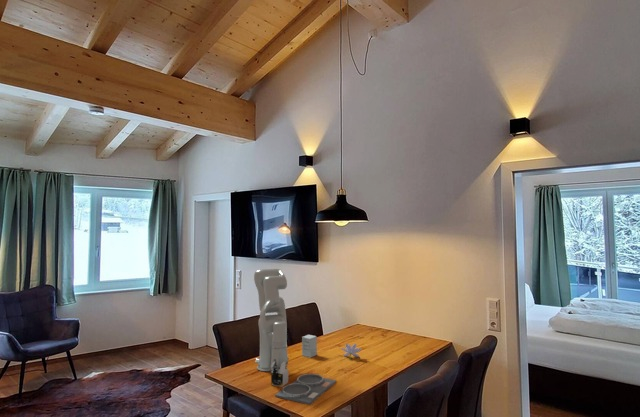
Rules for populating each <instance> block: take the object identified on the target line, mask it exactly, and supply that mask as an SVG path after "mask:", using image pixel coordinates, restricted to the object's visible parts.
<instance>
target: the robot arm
mask: <svg viewBox="0 0 640 417" xmlns="http://www.w3.org/2000/svg"><path fill="white" fill-rule="evenodd" d="M253 281H254V284H255V287H256V289H257V293H258V294H257V295H258V306H259V311H260V313H259V318H258V331H259V358H255V361H254V363H255V364H257V366H256V369H257V370H259V371H260V372H273V380H277V381H278V380H279V373H278V369H279V367H281V364H282V363H283V362H285V369H288V363H289V362H288V361H289V360H290V359H289V357H288V348H287V346H288V345H287V344H288V342H287V340H288V335H287V334H288V333H287V332H288V330H287V328H288V323H287V312H286V303H285V300H284V299H283V297H281V296H280V291H279V290H285V289H286V288H287V287H288V280H287V277H286V275H285V274H284V272H283V271H282V269H280V268H265V269H264V268H262V269H258V270H256V271H255V272H254V275H253ZM273 313H277V314H273ZM266 314H267V315H266ZM276 365H277V367H276ZM275 368H277V369H275Z"/></svg>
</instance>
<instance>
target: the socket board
mask: <svg viewBox="0 0 640 417" xmlns="http://www.w3.org/2000/svg"><path fill="white" fill-rule="evenodd" d="M303 375H305V374H303ZM299 381H300V382H302V383H307V384H310V383H317V382H320V381H321V379H319V378H316V377H305V378H302V379H300V380H299ZM293 383H297V379H296V380H294V381H293V382H291V383H290V384H293ZM336 383H337V380H336V379H331V378H326V377H323V383H322V384H321V385H319V386H315V387H310V394H309V395H307V396H305V397H302V398H290V397H286V396H285V395H283V389H281V390H280V391H278V392H277V393H276V394H274V396H275V398H280V399H283V400H288V401H293V402H297V403H301V404H304V405H305V404H306V405H312V404H313V403H314V402H315V401H316V400H318V398H319V397H321V396H322V395H323V394H324V393H325V392H327V391H328V390H329V389H330V388H331V387H332V386H334V385H335V384H336ZM284 391H285V392H286V393H289V394H303V393H306V392H307V391H309V390H308V389H307V388H304V387H291V388H287V389H286V390H284Z"/></svg>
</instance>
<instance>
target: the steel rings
mask: <svg viewBox="0 0 640 417" xmlns="http://www.w3.org/2000/svg"><path fill="white" fill-rule="evenodd" d="M305 377H316V378H319V379H321V381H320V382H317V383H310V384H307V383H302V382H300V381H299V380H300V379H302V378H305ZM323 378H324V377H323V376H322V375H320V374H316V373H315V374H314V373H306V374H305V375H304V374H302V375H299V376H298V377H297V379H296V380H297V383H293V382H292V383H293V384H291V383H289V384H285V385H284V386H283V387H282V390H283V395H285V396H286V397H290V398H302V397H305V396H307V395H309V394H310V387H315V386H319V385H321V384H322V383H323ZM291 387H304V388H307V389H308V390H309V391H307V392H306V393H303V394H289V393H286V392H285V391H284V390H286V389H287V388H291Z"/></svg>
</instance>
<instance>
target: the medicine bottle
mask: <svg viewBox="0 0 640 417" xmlns="http://www.w3.org/2000/svg"><path fill="white" fill-rule="evenodd" d="M276 367H277V365H276ZM275 369H277V368H275ZM278 373H279V380H278V381H277V380H273V372H272V371H270V374H271V375H270V378H271V379H270V384H271V386H275V387H282V388H283V387H285V386H286V385H287V384H288V383H289V368H287V369H285V362H283V363H282V364H281V367H279V369H278Z"/></svg>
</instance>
